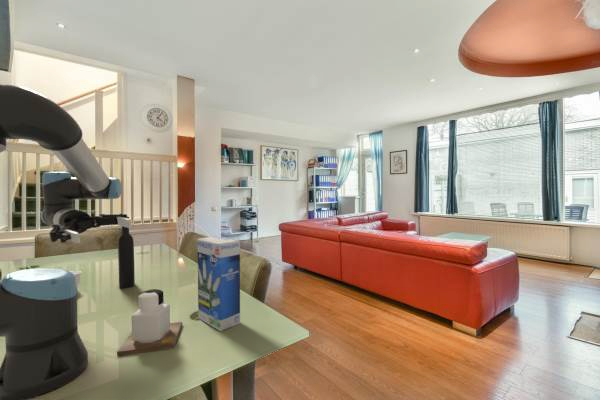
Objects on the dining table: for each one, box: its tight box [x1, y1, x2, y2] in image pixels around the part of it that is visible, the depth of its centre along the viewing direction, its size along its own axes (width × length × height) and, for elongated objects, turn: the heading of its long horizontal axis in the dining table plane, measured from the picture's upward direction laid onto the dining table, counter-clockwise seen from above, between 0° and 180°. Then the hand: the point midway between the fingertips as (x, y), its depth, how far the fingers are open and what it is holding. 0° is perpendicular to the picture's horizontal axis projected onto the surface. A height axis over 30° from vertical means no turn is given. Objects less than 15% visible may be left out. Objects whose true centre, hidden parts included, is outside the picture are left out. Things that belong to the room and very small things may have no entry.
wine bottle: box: [117, 216, 136, 289], centre depth 120 cm, size 6×6×30 cm
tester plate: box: [116, 321, 183, 357], centre depth 77 cm, size 13×13×2 cm
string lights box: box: [196, 235, 241, 332], centre depth 87 cm, size 13×8×26 cm, turn 48°
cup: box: [68, 270, 82, 293], centre depth 114 cm, size 7×10×8 cm
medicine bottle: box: [131, 288, 171, 341], centre depth 76 cm, size 7×7×12 cm
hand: (105, 230), depth 80 cm, fingers open, 13 cm apart
